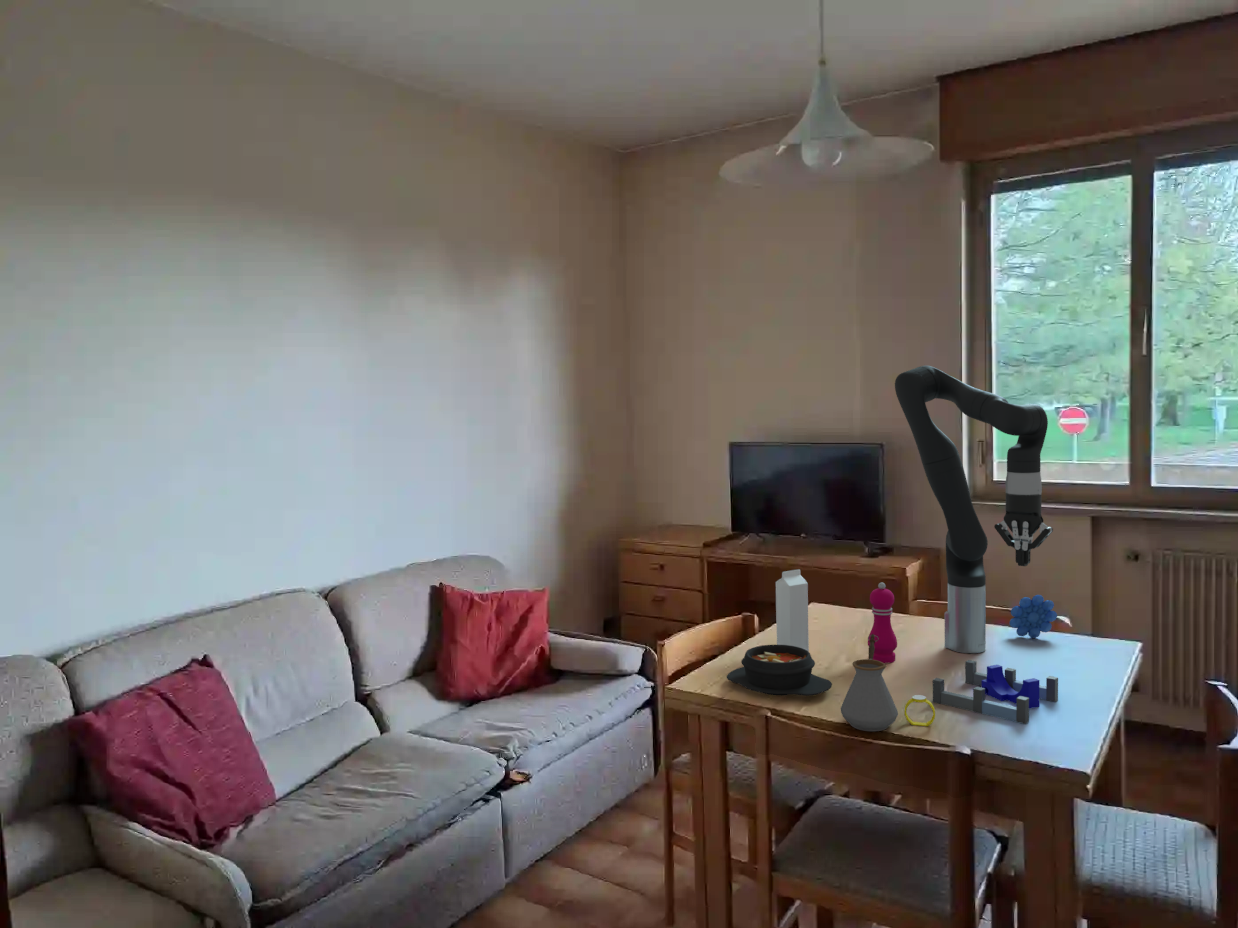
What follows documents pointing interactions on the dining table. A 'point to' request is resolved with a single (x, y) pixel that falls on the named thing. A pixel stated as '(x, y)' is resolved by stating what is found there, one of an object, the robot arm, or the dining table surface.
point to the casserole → (779, 671)
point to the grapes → (1033, 616)
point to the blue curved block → (1002, 690)
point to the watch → (920, 700)
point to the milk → (792, 610)
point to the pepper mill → (883, 624)
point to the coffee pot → (869, 696)
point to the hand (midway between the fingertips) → (1023, 565)
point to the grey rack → (989, 707)
